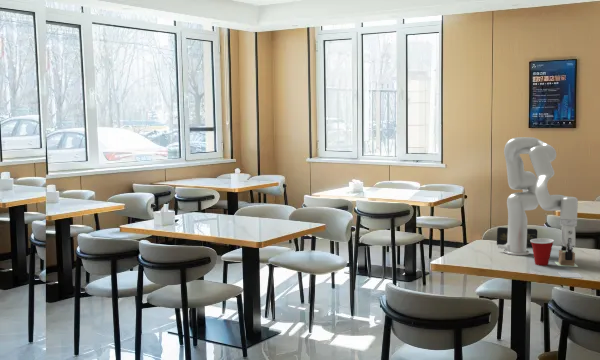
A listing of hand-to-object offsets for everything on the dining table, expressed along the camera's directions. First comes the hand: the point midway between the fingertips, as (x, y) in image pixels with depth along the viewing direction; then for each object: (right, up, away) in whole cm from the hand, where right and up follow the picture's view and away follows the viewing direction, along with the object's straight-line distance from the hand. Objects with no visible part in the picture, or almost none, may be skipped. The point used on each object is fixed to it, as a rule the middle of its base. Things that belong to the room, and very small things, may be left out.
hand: (566, 258), depth 313 cm
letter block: (0, -3, 0) cm, 3 cm away
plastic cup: (-12, -3, 0) cm, 13 cm away
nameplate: (-8, +1, +47) cm, 48 cm away
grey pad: (-8, -5, -23) cm, 24 cm away
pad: (0, -3, 0) cm, 3 cm away
